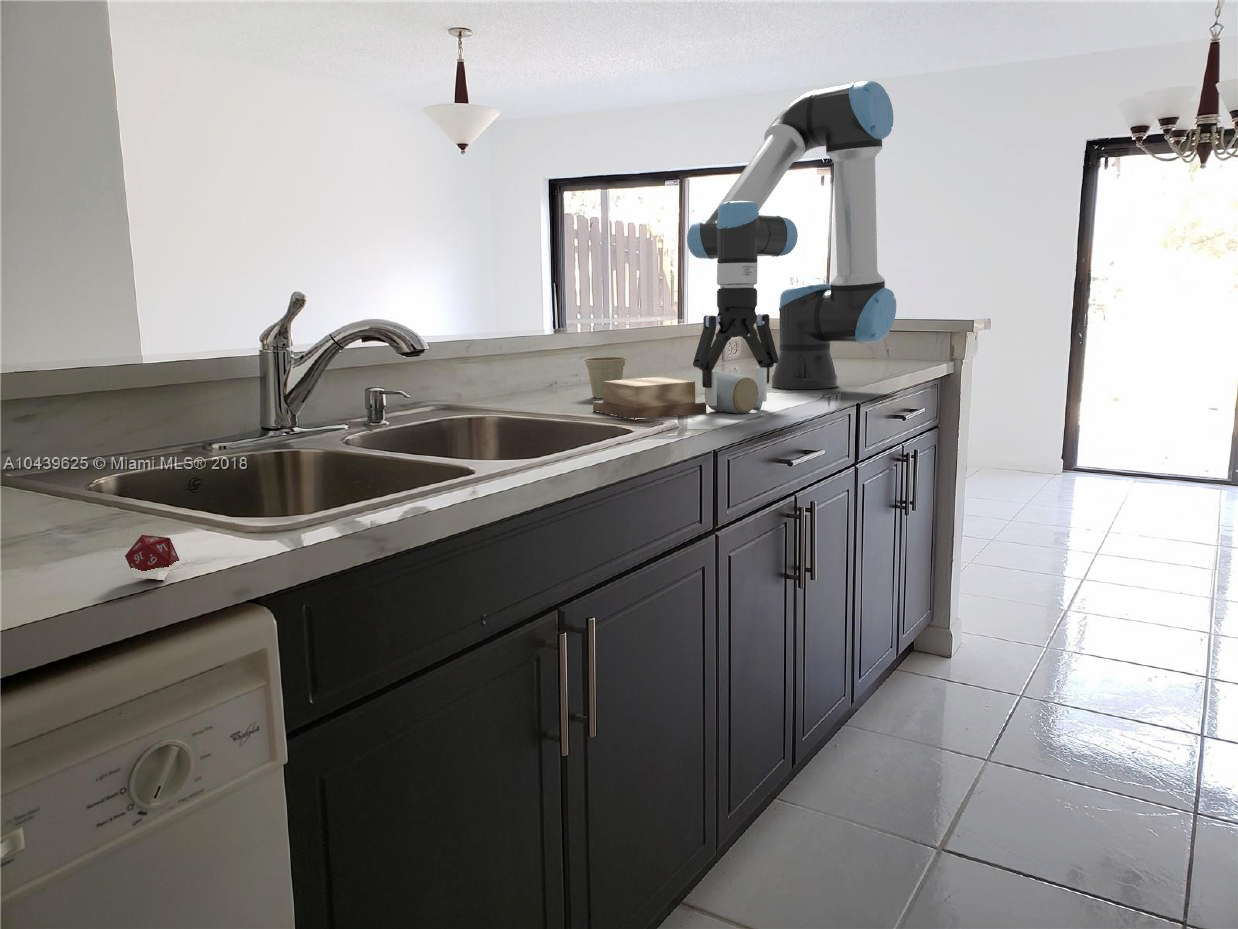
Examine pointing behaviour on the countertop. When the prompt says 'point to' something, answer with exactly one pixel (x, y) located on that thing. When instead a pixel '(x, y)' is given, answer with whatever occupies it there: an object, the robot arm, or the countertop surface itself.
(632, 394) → the pedestal block
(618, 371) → the flower pot
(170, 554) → the dice
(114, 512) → the countertop surface
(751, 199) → the robot arm
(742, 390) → the ceramic mug
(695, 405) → the board
